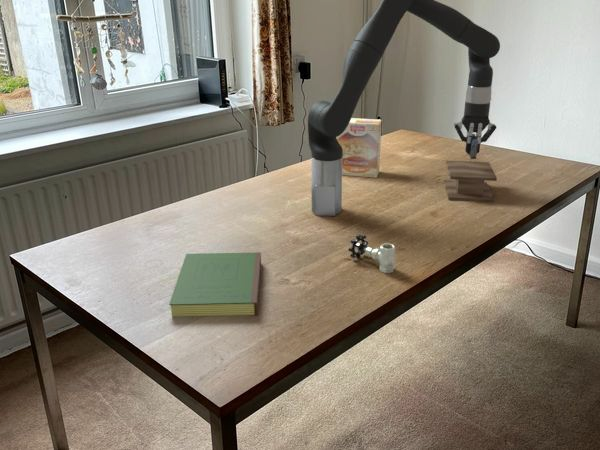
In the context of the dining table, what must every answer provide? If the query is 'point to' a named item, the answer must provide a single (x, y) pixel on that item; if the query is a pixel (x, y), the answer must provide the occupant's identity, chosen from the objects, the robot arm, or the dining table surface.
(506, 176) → the dining table surface
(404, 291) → the dining table surface
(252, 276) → the hardcover book
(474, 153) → the mini dv tape
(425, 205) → the dining table surface
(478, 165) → the stand
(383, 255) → the valve
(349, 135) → the coffeecake box
